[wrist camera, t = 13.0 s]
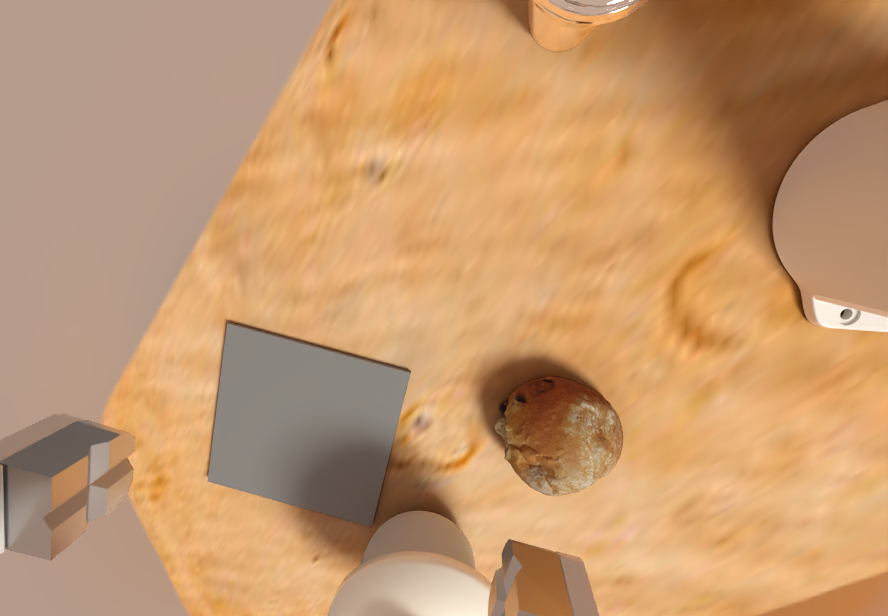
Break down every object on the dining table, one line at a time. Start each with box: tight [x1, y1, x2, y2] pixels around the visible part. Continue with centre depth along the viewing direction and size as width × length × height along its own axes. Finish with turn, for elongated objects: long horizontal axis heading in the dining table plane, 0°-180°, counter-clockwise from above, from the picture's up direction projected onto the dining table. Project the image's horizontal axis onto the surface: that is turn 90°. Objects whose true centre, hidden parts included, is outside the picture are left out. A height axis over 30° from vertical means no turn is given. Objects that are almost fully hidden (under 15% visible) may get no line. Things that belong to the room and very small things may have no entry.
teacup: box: [360, 511, 476, 570], centre depth 38 cm, size 14×11×8 cm
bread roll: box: [494, 376, 623, 496], centre depth 35 cm, size 10×10×8 cm
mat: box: [208, 322, 411, 527], centre depth 39 cm, size 17×17×1 cm
